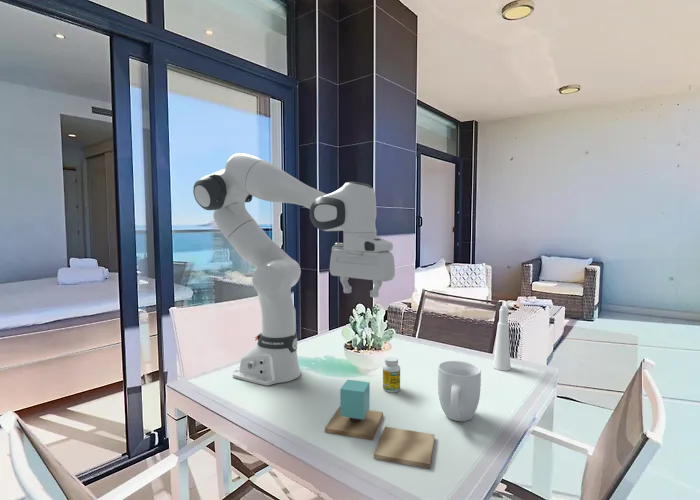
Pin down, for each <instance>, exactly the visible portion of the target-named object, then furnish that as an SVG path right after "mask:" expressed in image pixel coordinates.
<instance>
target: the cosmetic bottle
mask: <svg viewBox="0 0 700 500" xmlns="http://www.w3.org/2000/svg"><path fill="white" fill-rule="evenodd" d="M498 314H499V315H498V318H499V319H498V322H497V325H496V326H497V327H496V339H495V348H494V351H495V352H494V358H493V362H492V367H493V369H494V370H497V371H501V372H502V371H503V372H508V371H511V370H512V366H511V358H510V357H511V356H510V323H509V321H508V318H509V310H508V306H507V305H500V308H499V313H498Z"/></svg>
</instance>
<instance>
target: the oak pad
mask: <svg viewBox="0 0 700 500" xmlns="http://www.w3.org/2000/svg"><path fill="white" fill-rule="evenodd" d="M435 436H436V435H435V433H434V434H433V433H429V432H422V431H416V430H409V429H404V428H403V429H402V428H396V427H391V426H384V429H383V431H382V433H381V436H380V438H379V440H378V443H377V445H376V448H375V451H374V453H373V459H375V460H381V461H386V462H392V463H396V464H397V463H398V464H403V465H408V466H414V467H419V468H425V469H430V468H431V463H432V456H433V451H434V443H435Z"/></svg>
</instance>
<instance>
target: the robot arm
mask: <svg viewBox="0 0 700 500" xmlns="http://www.w3.org/2000/svg"><path fill="white" fill-rule="evenodd" d="M192 189H193V196H194V200H195V201H196V203H197V204H198V205H199V206H200V207H201V208H203V209H204V210H206V211H213V214H212V215H213V220H214V222H215V223H216V225H217V227H218V229H219V230H220V232H221V234H222V235H223V236H224V238H225V239H226V241H228V243H229V244H230V245H231V246H232V248H233V249H234V250H235V251H236V253H237V254H238V255H239V256H240V258H241V259H243V260H244V261H245V262H247V263H248V264H250V265H252V266H253V267H254V268H255V270H254V272H253V274H252V278H251V283H252V286H253V288H254V290H255V291H256V292H257V296H258V300H259V305H260V310H261V311H260V313H261V332H260V333H259V334H257V335H256V336H255V337H254V341H257V343H256V344H255V345H254V346H253V347H251V348H250V349H249V350H247V351H246V352H245V353H244V354H243V355H242V357H241V359H240V362H239V363H240V364H239V366H238V367H237V368H236V369H235V370H234V371H233V373H232V378H234V379H239V380H243V381H246V382H250V383H254V384H257V385H262V386H272V385H275V384H281V383H287V382H291V381H294V380H296V379H297V378H299V377H300V376H301V373H302V371H301V369H300V365H299V360H298V351H297V349H298V332H297V331H296V329H297V324H296V319H297V317H296V308H295V305H294V303H293V298H292V297H293V296H292V292H291V291H292V290H291V289H292V287H294V286H296V284H298V282H299V280H300V277H301V274H302V270H301V267H300V264H299V262H297V261H296V260H295V259H293V258H292V257H291V256H290V255H288V254H287V252H286V251H284V250H283V248H281V247H280V246H279V245H278V244H277V243H275V242H274V241H273V240H272V239H271V238H270V237H269V236H268V235H267V233H266V232H265V230H264V229H263V228H262V227H261V225H260V224H259V223H257V221H256V220H255V219H254V217H253V216H252V215H251V214H250V213H249V212H248V210H247V208H246V205H245V204H246V203H250V202H251V201H252V200H253V197H254V198H256V199H259V200H262V201H266V202H268V203H269V202H270V203H280V204H282V203H283V204H294V205H298V206H302V207H304V208H305V209H306V208H307V209H309V219H310V221H311V223H312V225H313V227H314V228H317V229H318V230H320V231H324V232H338V231H339V232H343V233H342V235H343V238H342V239H343V242H335V243H334V244H333V245H332V247H331V254H330V261H329V273H330V275H331V276H332V277H333V276H334V277H339V281H340V284H341V285H342V288H343V293H344V294H351V293H352V288H353V287H352V286H351V285H350V284H349V281H348V280H349V279H350V278H351V279H360V280H367V281H368V280H369V281H372V284H373V285H374V287H373V288H372V289H371V290H369V297H370V298H375V299H376V298H378V297H379V291H380V289H381V287H382V285H383V282H390V281H392V280H393V279H394V278H395V275H396V274H395V273H396V269H395V267H396V265H395V257H394V254H393V253H392V252H391V251H392V250H393V248H394V246H393V242H391V241H389V240H386V239H384V238H382V237H380V236H377V233H378V232H377V228H376V227H377V226H376V219H377V199H376V192H375V189H374V187H372V185H370V184H368V183H365V182H364V183H363V182H357V181H348V182H345V183H344V184H343V185H342V186H341V187H340V188H338V189H337V190H335V191H333V192H331V193H326V192H323V191H322V190H318V189H317V188H315V187H312V186H310V185H308V184H306V183H304V182H303V181H300V180H299V179H297V178H296V177H294V176H292V175H291V174H289V173H288V172H286V171H285V170H283V169H281V168H280V167H278V166H277V165H275V164H273V163H272V162H269V161H267V160H265V159H262V158H260V157H257V156H255V155H252V154H247V153H240V152H239V153H235V154H233V155H231V156H230V157H229V158H228V159H227V161H226V163H225V166H224V168H222V169H220V170H218V171H215V172H213V173H211V174H206V175H203V177H200V178H199V179H197V180H196V182H195V183H194V184H193V188H192Z"/></svg>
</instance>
